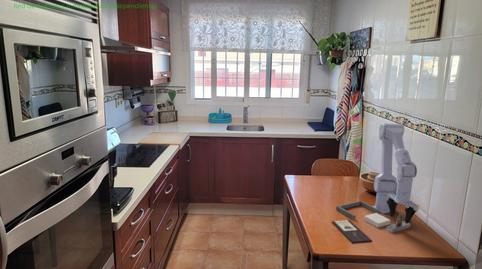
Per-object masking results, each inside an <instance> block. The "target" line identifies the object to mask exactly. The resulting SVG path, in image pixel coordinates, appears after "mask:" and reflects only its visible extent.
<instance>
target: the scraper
mask: <svg viewBox="0 0 482 269" xmlns="http://www.w3.org/2000/svg"><path fill="white" fill-rule="evenodd" d="M403 218H404V214H402V213H397V214H396V220H395V223H394V224H389V225H386V227H385V228H386V231H388V232H389V233H392V234H393V233H397V232H400V231H402V230H403V231H404V230H406V229H410V228H411V223H405V220H403Z"/></svg>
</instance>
